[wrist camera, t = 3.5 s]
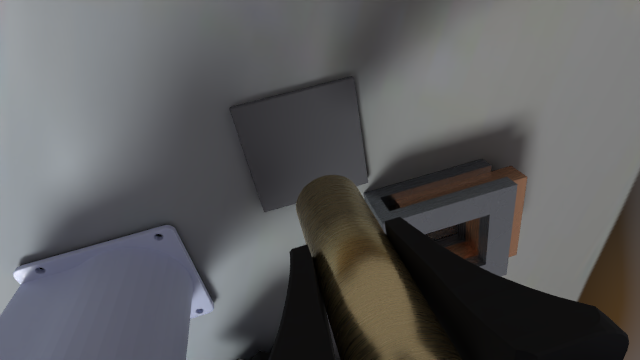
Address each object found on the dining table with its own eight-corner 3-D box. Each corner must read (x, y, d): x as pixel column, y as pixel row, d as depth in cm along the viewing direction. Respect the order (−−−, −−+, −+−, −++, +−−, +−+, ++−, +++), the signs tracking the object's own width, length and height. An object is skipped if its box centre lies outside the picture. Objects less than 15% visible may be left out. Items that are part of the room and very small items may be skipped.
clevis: (375, 275, 29) (393, 310, 26) (363, 193, 25) (383, 224, 22) (494, 238, 30) (524, 268, 27) (502, 153, 26) (539, 177, 22)
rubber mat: (263, 208, 23) (264, 212, 23) (229, 107, 20) (229, 109, 19) (366, 179, 24) (368, 182, 24) (351, 76, 20) (353, 78, 20)
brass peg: (303, 237, 17) (365, 445, 10) (289, 185, 16) (349, 385, 8) (363, 219, 18) (468, 408, 10) (355, 166, 16) (473, 343, 8)
